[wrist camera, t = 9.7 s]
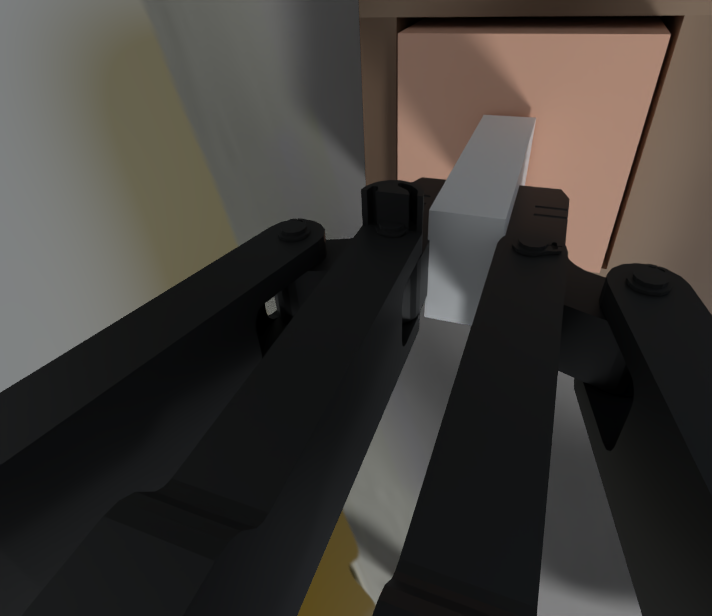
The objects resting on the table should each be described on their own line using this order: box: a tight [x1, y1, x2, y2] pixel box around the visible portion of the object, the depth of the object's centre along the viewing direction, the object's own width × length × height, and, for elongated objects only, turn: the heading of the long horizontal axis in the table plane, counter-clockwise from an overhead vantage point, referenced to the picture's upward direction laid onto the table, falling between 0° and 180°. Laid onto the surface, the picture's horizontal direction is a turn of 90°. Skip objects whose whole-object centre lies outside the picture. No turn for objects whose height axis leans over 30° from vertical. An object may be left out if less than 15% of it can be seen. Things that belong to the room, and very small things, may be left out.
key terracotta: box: [398, 17, 671, 273], centre depth 16 cm, size 7×7×3 cm
